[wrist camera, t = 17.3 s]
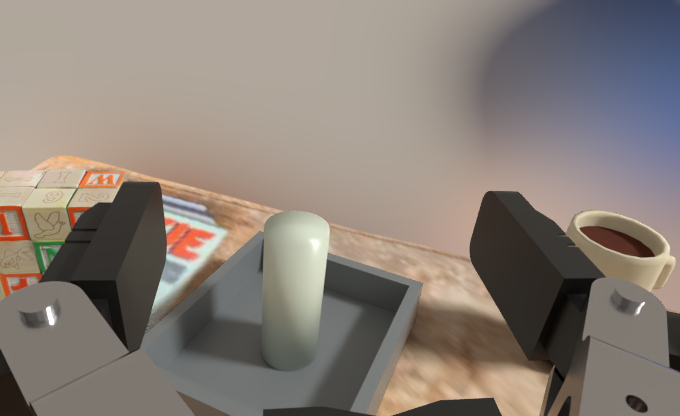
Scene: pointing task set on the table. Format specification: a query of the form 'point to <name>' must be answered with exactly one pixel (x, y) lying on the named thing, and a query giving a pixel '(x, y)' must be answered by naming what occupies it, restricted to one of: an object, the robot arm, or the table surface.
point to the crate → (245, 340)
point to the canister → (292, 288)
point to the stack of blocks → (44, 217)
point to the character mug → (622, 248)
